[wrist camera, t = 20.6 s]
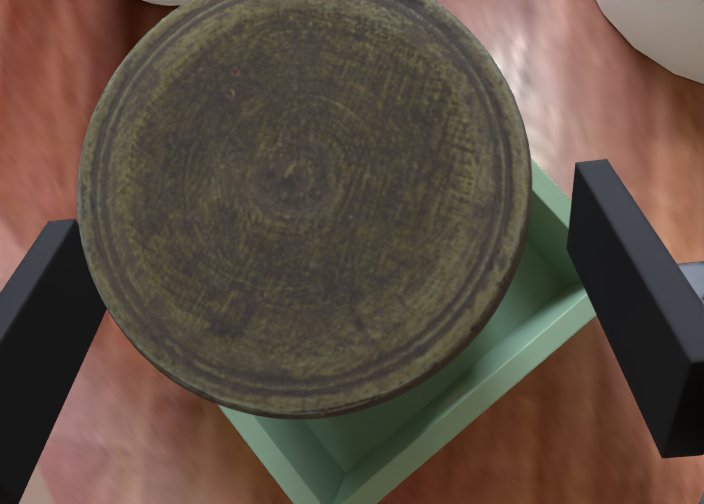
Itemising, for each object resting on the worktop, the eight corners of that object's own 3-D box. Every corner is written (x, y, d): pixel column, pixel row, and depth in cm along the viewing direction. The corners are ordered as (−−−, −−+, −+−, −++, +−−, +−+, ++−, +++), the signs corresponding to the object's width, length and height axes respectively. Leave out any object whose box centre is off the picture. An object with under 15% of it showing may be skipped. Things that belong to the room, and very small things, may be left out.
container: (267, 181, 29) (54, -42, 12) (457, 172, 29) (536, -82, 11) (269, 371, 28) (36, 446, 11) (466, 367, 28) (572, 439, 10)
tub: (156, 254, 30) (85, 234, 24) (382, 64, 31) (374, -11, 24) (345, 494, 28) (325, 546, 21) (587, 288, 28) (642, 276, 22)
